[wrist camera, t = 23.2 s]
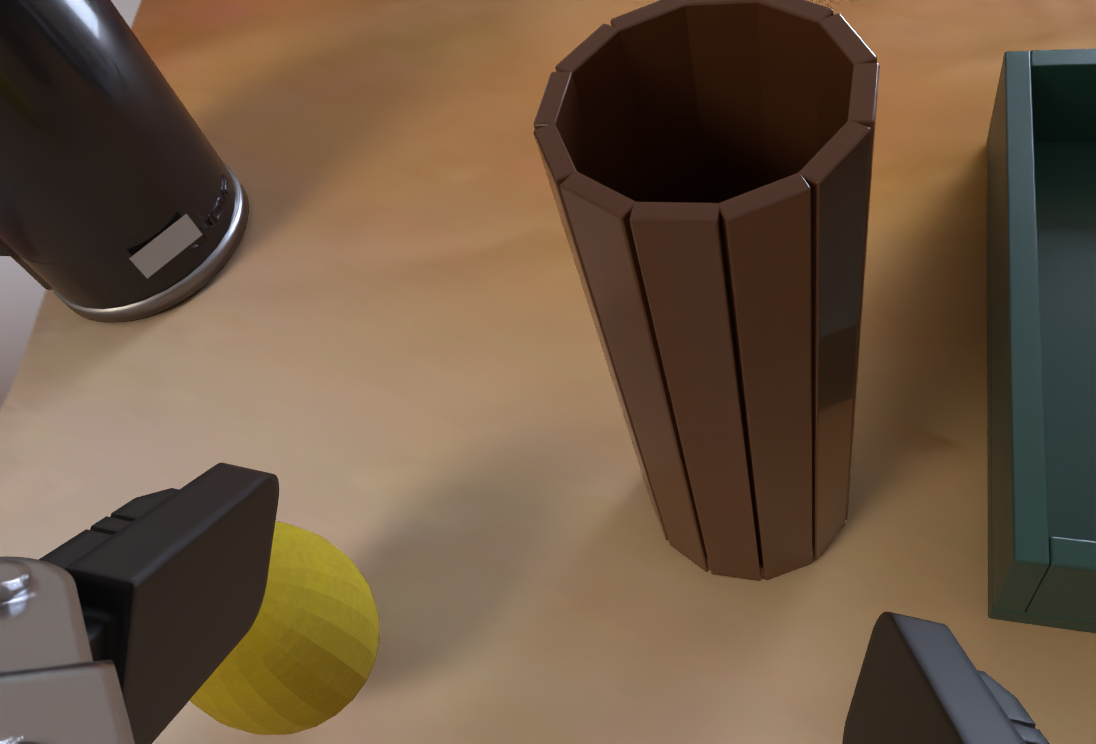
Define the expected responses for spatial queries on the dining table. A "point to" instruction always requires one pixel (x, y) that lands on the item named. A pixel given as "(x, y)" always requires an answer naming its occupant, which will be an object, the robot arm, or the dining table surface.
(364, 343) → the dining table surface
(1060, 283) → the green tray
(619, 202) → the cup
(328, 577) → the lemon
